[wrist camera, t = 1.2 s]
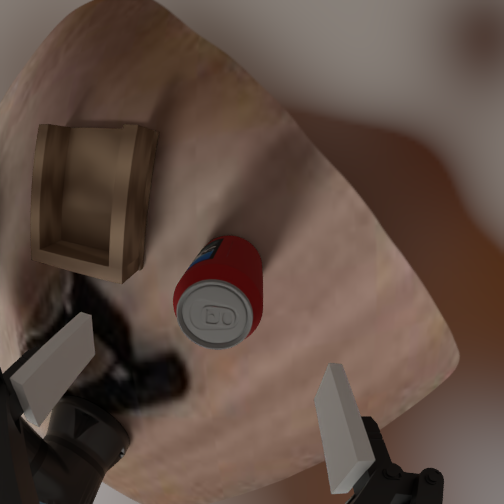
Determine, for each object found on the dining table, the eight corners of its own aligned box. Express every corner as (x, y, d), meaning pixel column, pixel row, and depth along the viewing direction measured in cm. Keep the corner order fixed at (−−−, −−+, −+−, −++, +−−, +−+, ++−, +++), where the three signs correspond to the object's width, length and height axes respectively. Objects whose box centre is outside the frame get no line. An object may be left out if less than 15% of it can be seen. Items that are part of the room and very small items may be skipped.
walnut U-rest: (142, 268, 32) (124, 284, 27) (54, 248, 32) (30, 259, 27) (159, 131, 28) (140, 125, 23) (64, 128, 28) (37, 124, 23)
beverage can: (200, 230, 31) (166, 265, 19) (265, 236, 31) (269, 276, 19) (197, 290, 32) (167, 350, 21) (258, 297, 32) (257, 362, 21)
